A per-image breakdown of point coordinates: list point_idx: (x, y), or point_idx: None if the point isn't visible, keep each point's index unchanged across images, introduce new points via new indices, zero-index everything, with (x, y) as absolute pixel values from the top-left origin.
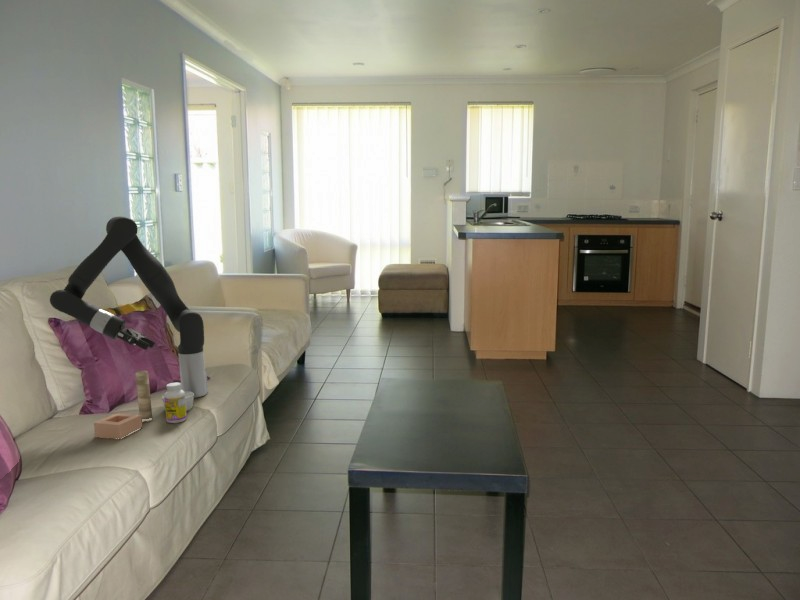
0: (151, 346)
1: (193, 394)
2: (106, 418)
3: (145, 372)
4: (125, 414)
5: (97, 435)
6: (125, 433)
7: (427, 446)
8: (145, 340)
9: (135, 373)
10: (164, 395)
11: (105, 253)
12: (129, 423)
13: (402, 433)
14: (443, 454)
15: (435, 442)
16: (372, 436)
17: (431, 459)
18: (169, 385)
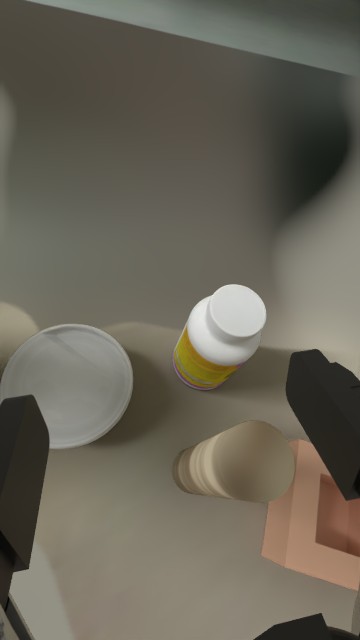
0: (44, 440)
1: (67, 324)
2: (350, 574)
3: (262, 430)
4: (298, 509)
5: None
6: None
7: (313, 23)
8: (12, 522)
9: (282, 494)
10: (246, 358)
11: None
12: None
13: (271, 30)
14: (334, 19)
15: (300, 15)
16: (286, 55)
17: (350, 29)
18: (256, 321)
